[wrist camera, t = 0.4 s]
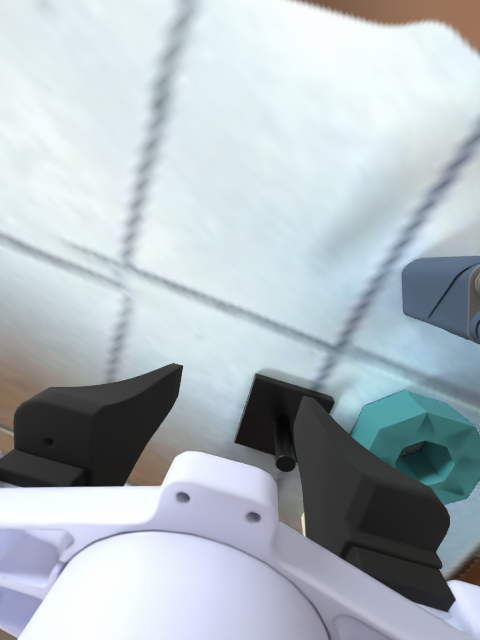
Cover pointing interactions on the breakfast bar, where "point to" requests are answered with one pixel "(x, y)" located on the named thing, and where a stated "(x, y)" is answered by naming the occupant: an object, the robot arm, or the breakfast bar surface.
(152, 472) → the breakfast bar surface
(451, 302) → the vaping device
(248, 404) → the peg stand
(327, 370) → the breakfast bar surface
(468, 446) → the teal ring
